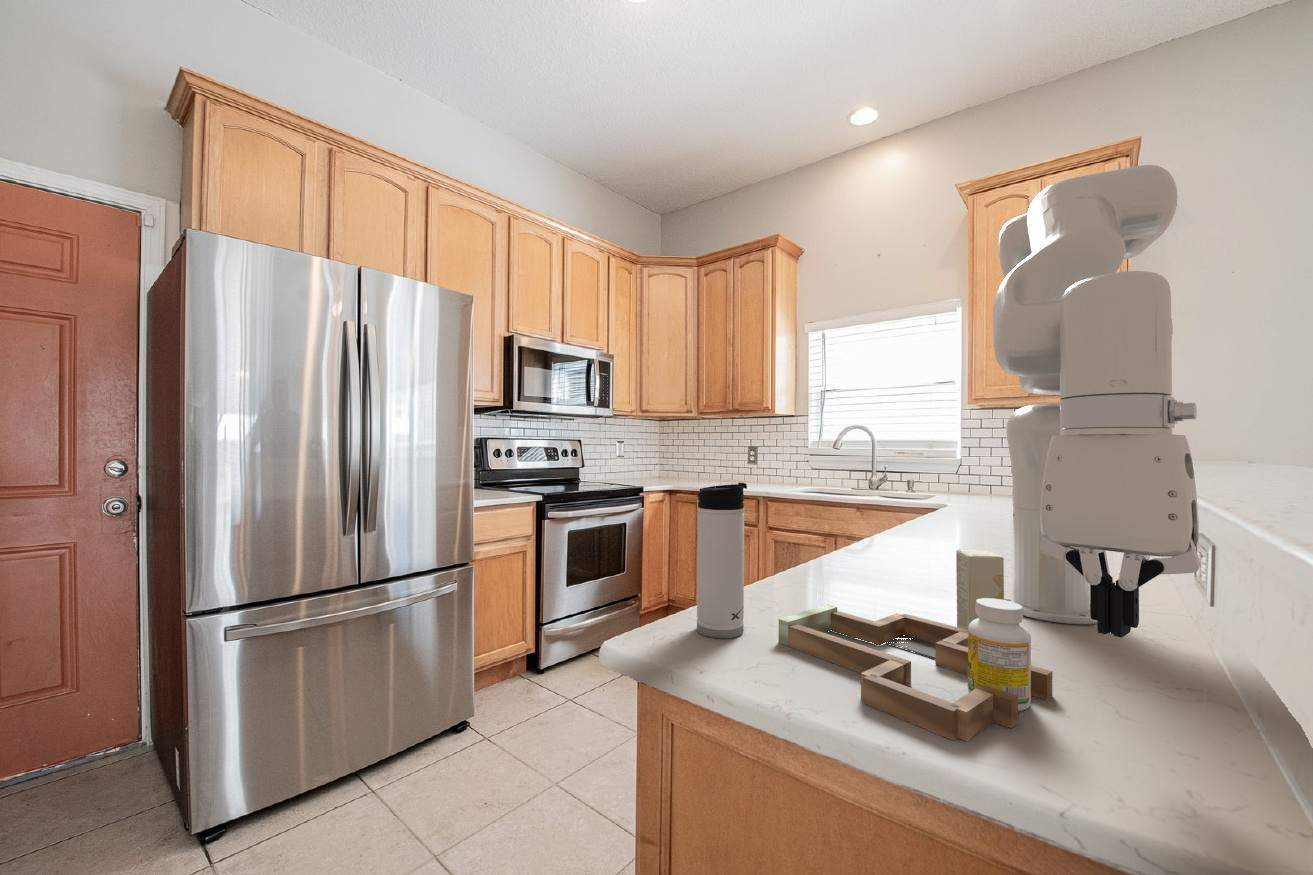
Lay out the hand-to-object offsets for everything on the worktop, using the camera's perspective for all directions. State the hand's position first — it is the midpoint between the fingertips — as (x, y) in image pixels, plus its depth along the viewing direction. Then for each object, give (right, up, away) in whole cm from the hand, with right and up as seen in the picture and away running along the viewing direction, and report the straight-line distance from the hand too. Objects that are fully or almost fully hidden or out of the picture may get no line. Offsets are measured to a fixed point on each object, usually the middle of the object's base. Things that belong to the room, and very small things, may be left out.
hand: (1114, 631), depth 48 cm
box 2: (+3, -10, +26) cm, 28 cm away
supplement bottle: (-5, -10, +8) cm, 13 cm away
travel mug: (-31, -10, +27) cm, 42 cm away
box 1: (-12, -9, +16) cm, 22 cm away
